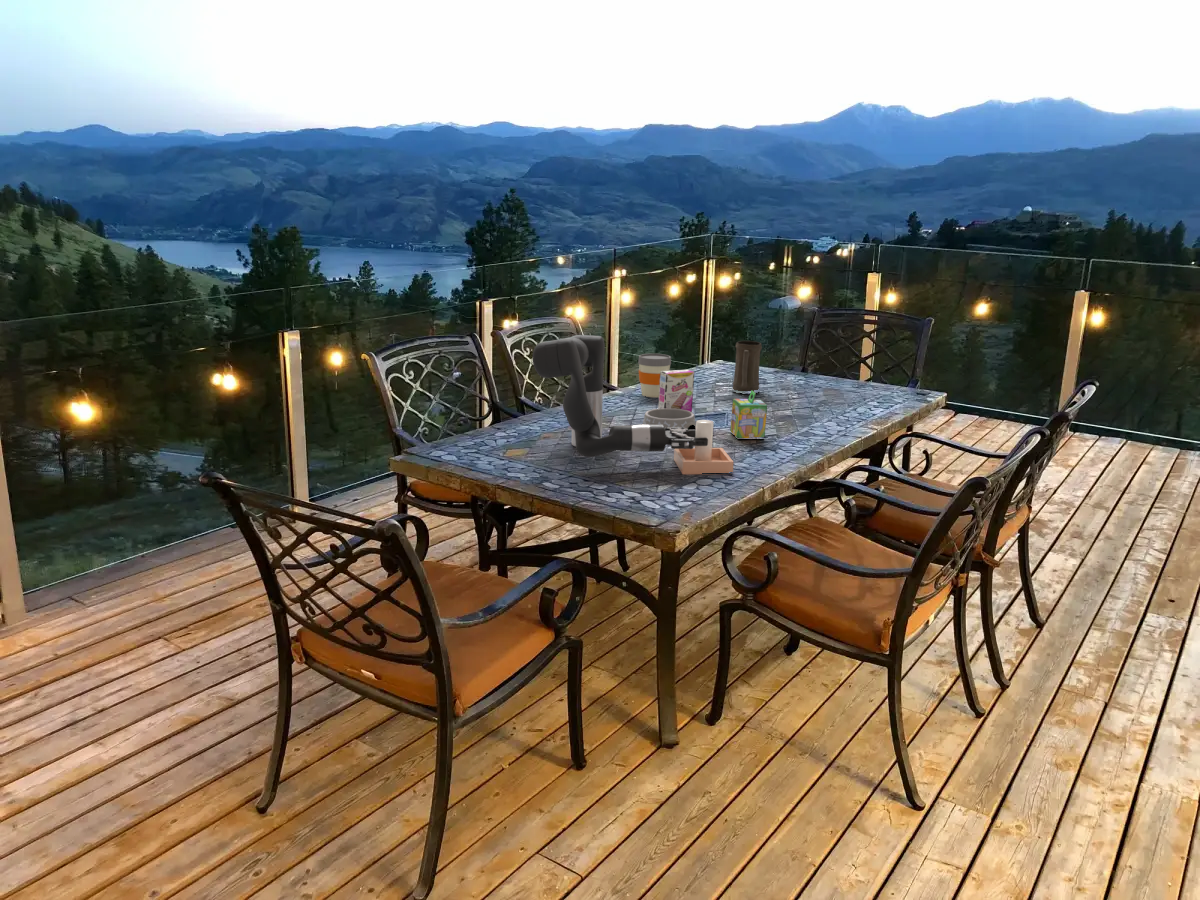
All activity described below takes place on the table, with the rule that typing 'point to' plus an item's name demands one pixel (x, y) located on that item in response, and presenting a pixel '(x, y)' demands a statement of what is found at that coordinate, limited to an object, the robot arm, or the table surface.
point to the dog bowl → (670, 417)
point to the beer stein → (747, 366)
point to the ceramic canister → (704, 437)
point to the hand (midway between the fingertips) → (704, 437)
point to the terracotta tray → (703, 462)
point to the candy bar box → (676, 389)
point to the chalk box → (748, 417)
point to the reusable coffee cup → (652, 372)
